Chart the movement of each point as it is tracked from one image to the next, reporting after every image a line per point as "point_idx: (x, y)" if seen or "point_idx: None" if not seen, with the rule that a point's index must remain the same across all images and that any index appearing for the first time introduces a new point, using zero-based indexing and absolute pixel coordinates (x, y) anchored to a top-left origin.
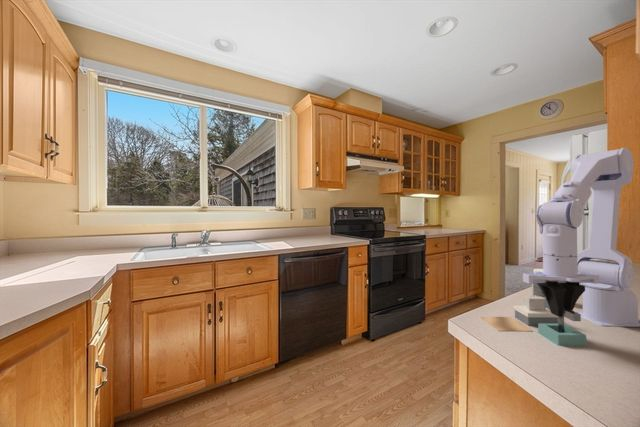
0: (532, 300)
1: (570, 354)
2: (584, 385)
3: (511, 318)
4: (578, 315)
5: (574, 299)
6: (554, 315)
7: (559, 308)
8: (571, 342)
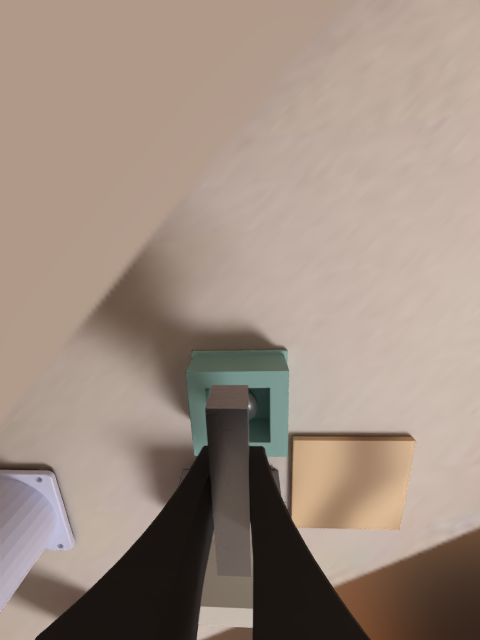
0: (245, 596)
1: (285, 305)
2: (406, 110)
3: (298, 517)
4: (218, 403)
5: (165, 536)
6: None
7: (267, 478)
8: (240, 358)
